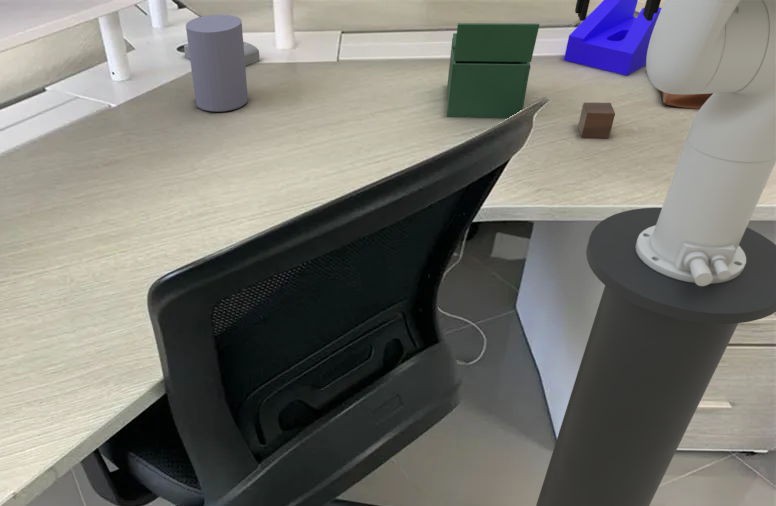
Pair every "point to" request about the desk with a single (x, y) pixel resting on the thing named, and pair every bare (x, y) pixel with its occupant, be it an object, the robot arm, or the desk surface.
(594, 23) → the bracket
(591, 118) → the block
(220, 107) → the container
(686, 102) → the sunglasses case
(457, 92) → the carton
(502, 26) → the flap
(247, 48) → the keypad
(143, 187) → the desk surface
